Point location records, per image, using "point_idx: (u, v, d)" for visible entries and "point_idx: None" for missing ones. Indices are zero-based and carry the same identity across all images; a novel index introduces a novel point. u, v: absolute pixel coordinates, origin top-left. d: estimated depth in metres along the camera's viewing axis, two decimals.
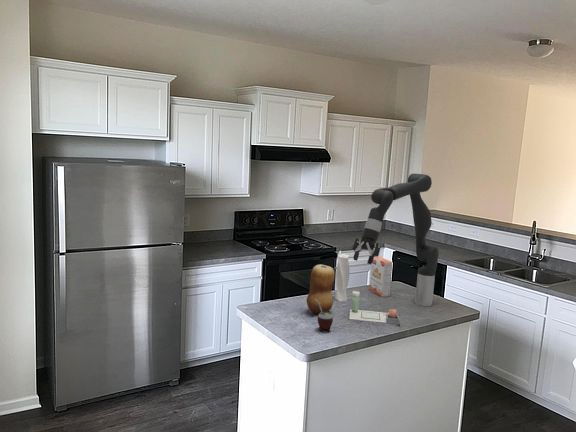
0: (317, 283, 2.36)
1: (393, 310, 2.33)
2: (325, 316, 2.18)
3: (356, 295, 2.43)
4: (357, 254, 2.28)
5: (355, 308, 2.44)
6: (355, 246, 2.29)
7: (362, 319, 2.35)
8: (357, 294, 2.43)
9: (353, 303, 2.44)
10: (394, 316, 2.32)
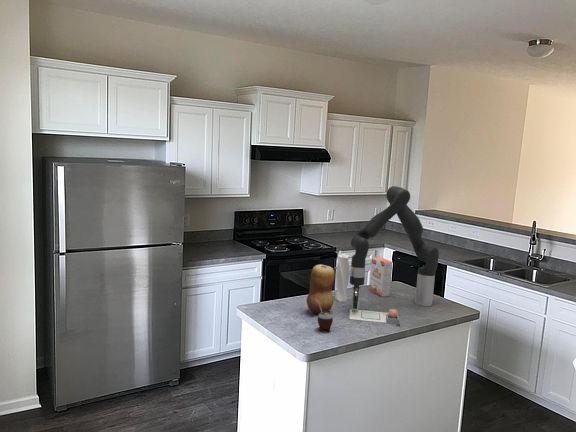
0: (317, 283, 2.36)
1: (393, 310, 2.33)
2: (325, 316, 2.18)
3: None
4: None
5: None
6: None
7: (362, 319, 2.35)
8: None
9: None
10: (394, 316, 2.32)
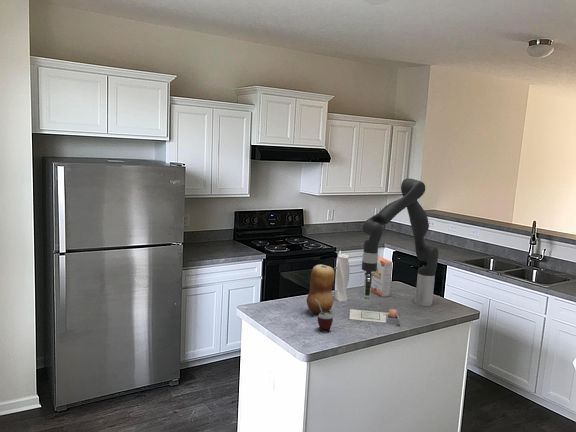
0: (317, 283, 2.36)
1: (393, 310, 2.33)
2: (325, 316, 2.18)
3: None
4: None
5: None
6: None
7: (362, 319, 2.35)
8: None
9: None
10: (394, 316, 2.32)
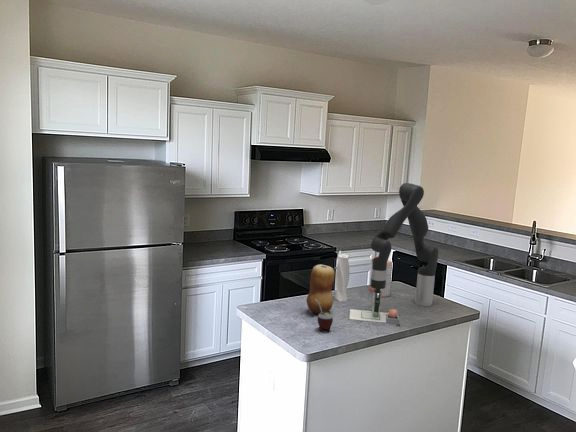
0: (317, 283, 2.36)
1: (393, 310, 2.33)
2: (325, 316, 2.18)
3: None
4: None
5: (376, 313, 2.39)
6: None
7: (362, 319, 2.35)
8: None
9: None
10: (394, 316, 2.32)
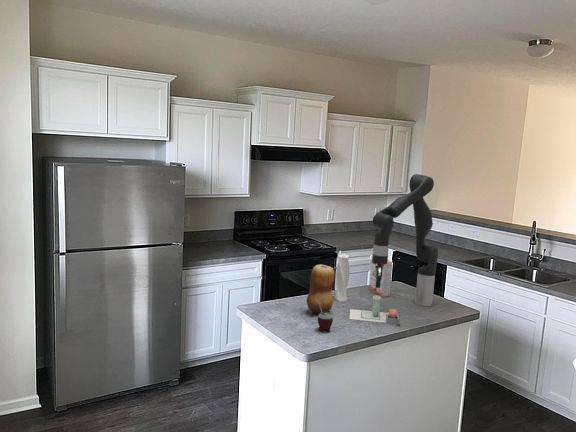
0: (317, 282, 2.36)
1: (393, 310, 2.33)
2: (325, 316, 2.18)
3: (377, 299, 2.37)
4: None
5: (376, 313, 2.39)
6: None
7: (362, 319, 2.35)
8: (378, 298, 2.37)
9: (374, 307, 2.39)
10: (394, 316, 2.32)
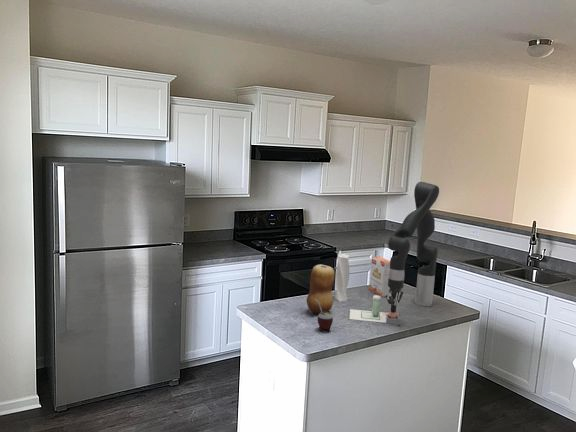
0: (317, 283, 2.36)
1: None
2: (325, 316, 2.18)
3: (377, 299, 2.37)
4: None
5: (376, 313, 2.39)
6: None
7: (362, 319, 2.35)
8: (378, 298, 2.37)
9: (374, 307, 2.39)
10: None
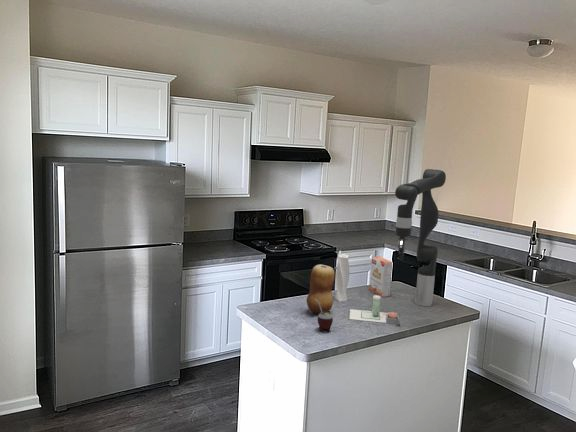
0: (317, 283, 2.36)
1: (393, 313, 2.33)
2: (325, 316, 2.18)
3: (377, 299, 2.37)
4: None
5: (376, 313, 2.39)
6: None
7: (362, 319, 2.35)
8: (378, 298, 2.37)
9: (374, 307, 2.39)
10: None
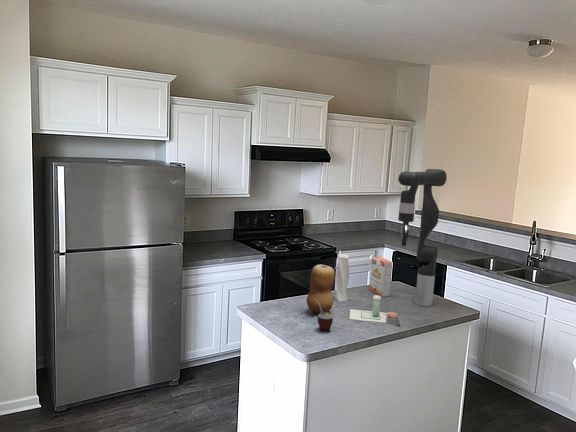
0: (317, 283, 2.36)
1: (393, 313, 2.33)
2: (325, 316, 2.18)
3: (377, 299, 2.37)
4: None
5: (376, 313, 2.39)
6: None
7: (362, 319, 2.35)
8: (378, 298, 2.37)
9: (374, 307, 2.39)
10: None
